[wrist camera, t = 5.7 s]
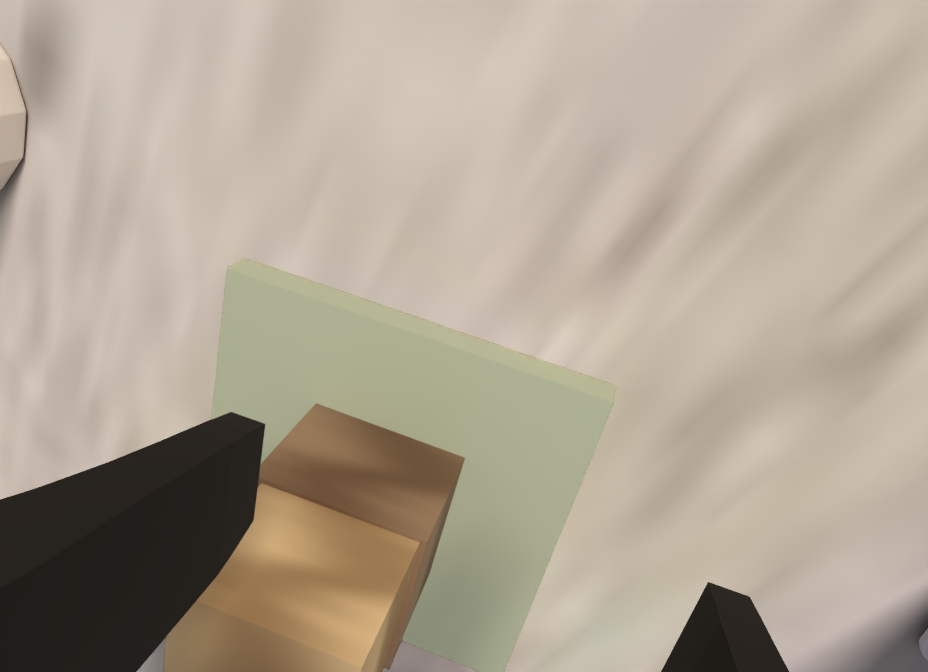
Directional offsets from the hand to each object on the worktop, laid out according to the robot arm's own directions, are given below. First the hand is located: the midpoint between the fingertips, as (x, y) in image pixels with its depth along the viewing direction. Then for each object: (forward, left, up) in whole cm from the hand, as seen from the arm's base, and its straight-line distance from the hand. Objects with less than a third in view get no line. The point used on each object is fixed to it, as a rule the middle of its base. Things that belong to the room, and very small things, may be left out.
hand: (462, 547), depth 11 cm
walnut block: (+4, +8, -9) cm, 13 cm away
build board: (+4, +8, -10) cm, 13 cm away
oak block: (+4, +7, -5) cm, 10 cm away
